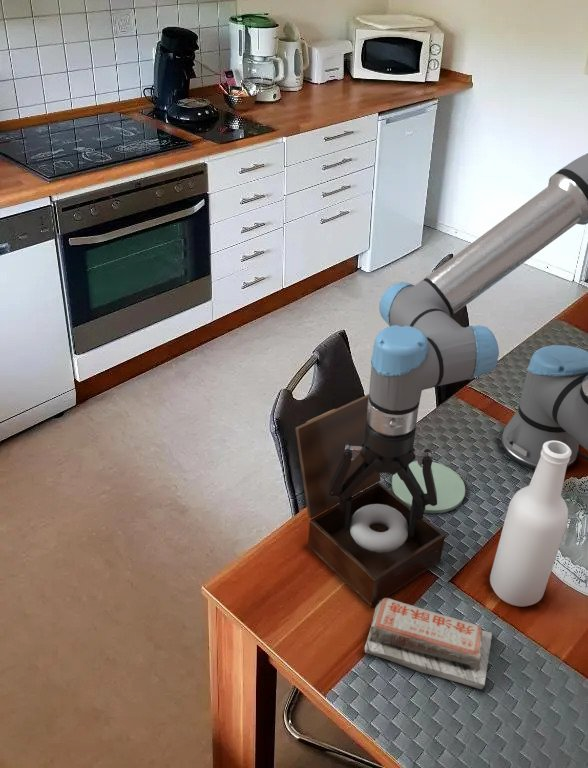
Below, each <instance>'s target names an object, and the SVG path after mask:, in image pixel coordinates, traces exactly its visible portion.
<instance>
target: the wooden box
mask: <svg viewBox="0 0 588 768" xmlns="http://www.w3.org/2000/svg"><path fill="white" fill-rule="evenodd" d="M370 504H383V505H387V506H390V507H392V508H395V509H396V510H398V511H399V512H400V513H401V514H402V515H403V516H404V517H405V519H406V520H407V524H408V527H409V519H410V512H411V507H410V506H409V505H407V504H406V503H405V502H404V501H402V500H401V499H400V498H399V497H397V496H396V495H395V494H394V492H393V491H391V490H390V489H388V488H387V487H386V486H385V485H383V484H382V483H381V481H379V482H377V483H375V484H374V485H372V486H370V487H368V488H366V489H364V490H363V491H361V492H359V493H357V494H355V495H354V496H352V501H351V513H350V520H351V517H352V516H353V514H354V513H355V512H356V511H357V510H358V509H360V508H361V507H363V506H366V505H370ZM339 505H340V503H339V504H337V505H335V506H333V507H332V508H330V509H328V510H326V511H324V512H323V513H321V514H319V515H317V516H315V517H313V518H312V519H311V518H310V519H309V523H308V525H309V526H308V538H307V539H308V540H307V547H308V549H309V550H310V551H311V552H312V553H314V554H315V555H316V556H317V558H319V560H321V561H322V562H323V563H324V564H325V565H326V566H327V568H329V569H330V570H331V571H332V572H333V573H334V574H335V575H337V577H338V578H339V579H340V580H342V581H343V582H344V583H345V584H346V585H347V586H348V587H349V588H350V589H351V590H352V591H353V592H354V593H355V595H357V596H358V597H359V598H360V599H361V600H362V601H363V602H364V603H365V604H367V606H369V607H370V608H371V609H372V608H374V607H376V606H377V605H378V604H379V601H380V600H381V601H382V600H383V599H384V598H389V597H390V596H391V595H393V594H394V593H396V592H397V591H399V590H400V589H402V588H404V587H406V585H409V584H410V583H411V582H413V581H414V580H416V579H417V578H418V577H420V576H422V575H423V574H425V573H426V572H427V571H429V570H431V569H432V568H434V567H435V566H437V565H439V563H441V561H442V556H443V552H444V551H443V550H444V545H445V541H446V536H447V535H446V533H444V532H443V531H441V530H440V529H439V528H438V527H436V526H435V525H434V524H433V523H431V522H430V521H429V520H427V519H426V518H425V517H424V516H423V518H422V520H416V522H415V529H414V535H413V537H410V536H409V532H408V537H407V539H406V541H405V542H404V544H403V545H402V546H400V547H399V548H398V549H396V550H394V551H391V552H385V553H377V552H372V551H369V550H366V549H364V548H362V547H361V546H360V545H358V544H357V543H356V542H355V540H354V539H353V537H352V536H351V533H350V528H349V530H345V518H346V513H344V512H340V511H339ZM349 525H350V524H349ZM369 527H370V529H372V530H373V531H376V532H386V531H388V530H389V528H388V527H387V526H385V525H383V524H379V523H375V524H371V525H370V526H369Z"/></svg>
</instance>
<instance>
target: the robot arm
mask: <svg viewBox="0 0 588 768" xmlns="http://www.w3.org/2000/svg"><path fill="white" fill-rule="evenodd" d="M587 224H588V152H587V153H585V154H582V155H581V156H579V157H577V158H575V159H574V160H572V161H571V162H568V164H566V165H565V166H563V167H561V168H560V169H559V170H558V171H556V172H555V173H554V174H552V175H551V176H550V177H549V178H548V182H547V187H545V188H543V190H541V191H540V192H539V193H537V194H536V195H534V196H533V197H532V198H531V199H529V200H528V201H526V202H525V203H524V204H522V205H521V206H520V207H519V208H517V209H515V210H514V211H513V212H511V213H510V214H509V215H507V216H506V217H505V218H504V219H502V220H501V221H499V222H498V223H497V224H496V225H494V226H493V227H492V228H490V229H489V230H487V231H486V232H485V233H483V234H482V235H480V236H479V237H478V238H477V239H475V240H474V241H472V242H471V243H470V244H468V245H467V246H466V247H464V249H462V250H461V251H459V252H458V253H457V254H455V255H453V256H452V257H451V258H450V259H448V260H447V261H446V262H445V263H443V264H442V265H441V266H439V267H437V268H436V269H435V270H434V271H432V272H431V273H429V275H427V276H426V277H424V278H423V279H422V280H420V281H418V283H416V284H415V285H414V284H412V283H410V282H406V281H402V282H398V283H394V284H392V285H391V286H389V287H388V288H387V289H386V290H385V291H384V292H383V294H382V296H381V297H380V301H379V307H378V309H379V314H380V317H381V318H382V320H383V321H384V322H385V323H386V324H387V325H388V326H386V327H384V328H383V329H381V330H380V331H379V332H378V333H377V334H376V336H375V339H374V343H373V348H372V354H371V358H370V377H369V389H368V390H369V391H368V394H369V398H368V409H367V422H366V430H365V441H364V443H363V444H362V445H361V446H352V444H351V443H350V442H346V443H345V444H344V453H343V457H342V459H341V461H340V463H339V466H338V468H337V470H336V472H335V474H334V476H333V478H332V480H331V483H330V491H329V495H330V496H338V497H339V498H340V503H339V504H340V505H339V511H340V512H344V513H346V518H345V530H349V524H350V513H351V501H352V497H353V496H352V493H353V492H354V491H355V490H356V489H357V488H358V487H359V486H360V485H361V484H362V483H363V481H364V480H365V479H366V478H367V477H370V476H371V475H372V474H373V473H374V472H375V471H376V473H380V474H390V475H394V474H396V473H397V474H398V476H399V477H400V479H401V480H403V482H404V483H405V485H406V487H407V488H408V490H409V492H410V493H411V495H412V497H413V499H412V505H411V512H410V519H409V536H410V537H413V535H414V529H415V522H416V520H422V518H423V517H424V513H425V512H424V510H425V506H426V505H429V504H430V505H431V506H435V505H437V492H436V488H435V483H434V478H433V474H432V469H431V465H432V462H433V451H432V450H431V449H429V448H426V449H424V450H423V451H417V450H416V449H415V448H414V446H415V445H414V444H415V437H416V429H417V424H418V423H417V422H418V414H419V408H420V402H421V397H422V392H423V391H425V390H428V389H429V390H430V389H432V388H437V387H440V386H444V385H450V384H453V383H458V382H462V381H467V380H473V379H474V378H478V377H480V376H483V375H486V374H489V373H491V372H492V371H494V369H495V368H496V366H497V364H498V361H499V357H500V349H499V348H500V347H499V344H498V340H497V338H496V336H495V334H494V333H493V331H492V330H491V329H490V328H488V327H487V326H484V325H468V326H466V327H463V326H461V324H460V323H458V322H457V321H456V320H455V319H453V316H454V315H455V314H457V312H459V311H460V310H461V309H463V308H464V307H466V306H467V305H468V304H470V303H471V302H473V300H475V299H477V298H479V296H480V295H482V294H483V293H484V292H486V291H487V290H489V289H490V288H492V287H493V286H494V285H495V284H498V282H500V281H501V280H503V278H505V277H507V276H508V275H509V274H510V273H511V272H513V271H515V270H516V269H517V268H518V267H520V266H521V265H523V264H524V263H526V262H527V261H528V260H529V259H531V258H532V257H534V256H535V255H537V254H538V253H539V252H540V251H542V250H543V249H544V248H546V247H548V246H549V245H550V244H551V243H553V242H554V241H556V240H557V239H558V238H559V237H561V236H562V235H563V234H565V233H566V232H568V231H569V230H570V229H571V228H573V227H574V226H575V225H581V226H584V225H585V226H586V225H587ZM526 368H527V369H526V374H525V378H524V383H523V386H522V391H521V396H520V400H519V404H518V409H517V410H516V412H515V413H514V415H513V416H512V417H511V418H510V420H509V421H508V423H507V424H506V425H505V427H504V429H503V431H502V434H501V438H500V444H501V447H502V449H503V451H504V453H505V454H506V455H507V456H508V457H509V458H510V459H511V460H512V461H514V462H515V463H518V464H519V465H520V466H523V467H525V468H527V469H531V470H534V471H535V470H536V467H537V465H538V462H539V460H540V457H541V451H542V449H543V444H544V443H545V442H547V441H560V442H563V443H564V444H566V445H567V446H568V447H569V448H570V449H571V452H572V453H571V456H570V460H569V462H568V464H567V468H566V470H567V469H569V468H571V467H572V466H573V465H574V464H575V463H576V460H577V458H578V457H580V458H581V459H584V460H585V461H588V455H586V454H584V453H582V452H580V451H579V449H580V446H581V447H583V448H584V449H585V450H586V451H587V452H588V351H587V350H585V349H583V348H579V347H576V346H571V345H565V344H564V345H562V344H555V345H547V346H543V347H540V348H539V349H537V350H536V351H535V352H534V353H533V354H532V356H531V359H530V362H529V364H528V366H527V367H526ZM358 455H361V456H362V457H363V459H364V461H363V463H362V464H361V465H360V466H359V467H358V469H357V470H356V471H355V472H354V473H353V474H352V475H351V476H350V477H349V478H348V479H347V481H346V482H345V483H344V484H342V482H343V480H344V478H345V476H346V474H347V472H348V470H349V467H350V465H351V461H354V459H356V457H357V456H358ZM414 461H417V462H418V465H420V467H422V471H423V477H424V481H425V486H426V490H427V493H424V492H423V490H422V488H421V487H420V485H419V483H418V482H417V480H416V478H415V476H414V475H413V473H412V471H411V470H410V468H409V464H410V463H411V462H414Z"/></svg>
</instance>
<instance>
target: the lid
mask: <svg viewBox="0 0 588 768" xmlns="http://www.w3.org/2000/svg"><path fill="white" fill-rule="evenodd" d="M368 398H369V393H368V394H365V395H363V396H362V397H359V398H357V399H355V400H352V401H350V402H349V403H346V404H344V405H342V406H339V407H338V408H333V409H331V410H329V411H326V412H324V413H322V414H320V415H317V416H315V417H313V418H311V419H309V420H306V422H305V423H302V424H300V425H298V426H296V427H295V428H294V429H295V435H296V441H297V450H298V456H299V457H298V458H299V463H300V469H301V470H300V471H301V476H302V483H303V490H304V497H305V503H306V511H307V517H308V518H309V519H310V520H311V519H313V518H314V517H316V516H318V515H320V514H322V513H323V512H325V511H327V510H329V509H331V508H333V507H334V506H336V505H338V504H340V498H339V497H338V496H330V495H329V491H330V483H331V480H332V478H333V476H334V474H335V472H336V470H337V468H338V466H339V463H340V461H341V459H342V457H343V453H344V444H345V443H346V442H350V443H351V444H352V446H361V445H362V444H363V443H364V441H365V430H366V422H367V409H368ZM363 461H364V459H363V457H362V456H361V455H358V456H357V457H356V459H354V461H351V465H350V467H349V470H348V472H347V474H346V476H345V478H344V480H343V482H342V484H344V483H345V482H346V481H347V479H348V478H349V477H350V476H351V475H352V474H353V473H354V472H355V471H356V470H357V469H358V467H359V466H360V465H361V464H362V463H363ZM381 479H382V478H381V473H376V471H375V472H374V473H373V474H372V475H371V476H370V477H367V478H366V479H365V480H364V481H363V483H362V484H361V485H360V486H359V487H358V488H357V489H356V490H355V491H354V492H353V493H352V497H353V496H354V495H356V494H358V493H360V492H362V491H364V490H365V489H367V488H369V487H371V486H373V485H374V484H376V483H378V482H381Z"/></svg>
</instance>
